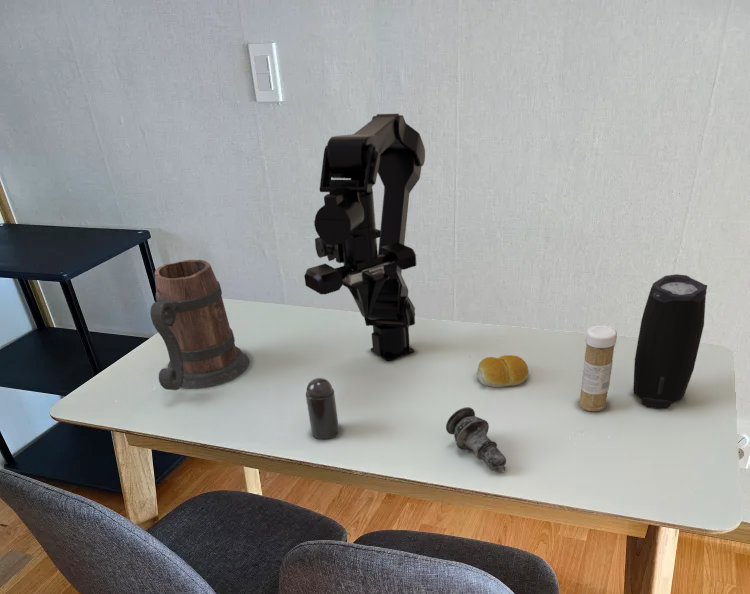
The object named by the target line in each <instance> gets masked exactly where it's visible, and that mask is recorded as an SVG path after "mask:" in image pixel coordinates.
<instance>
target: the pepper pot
mask: <svg viewBox="0 0 750 594" xmlns="http://www.w3.org/2000/svg"><path fill="white" fill-rule="evenodd" d="M305 399H306V405H307V411H308V418H309V424H310V431H311V435H312V437H313V438H315V439H317V440H322V441H323V440H325V441H326V440H331V439H333V438H335V437H336V436H338V435H339V433H340V426H339V417H338V411H337V402H336V393H335V389H334V388H333V385H332V384H331V382H330V380H327V379H326V378H324V377H315V378H313V379H311V380H310V381H309V382H308V383H307V387H306V391H305Z"/></svg>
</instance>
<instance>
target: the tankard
mask: <svg viewBox="0 0 750 594" xmlns="http://www.w3.org/2000/svg"><path fill="white" fill-rule="evenodd" d="M154 278H155V279H154V280H155V281H154V282H155V291H156V292H155V294H154V295H155V301H154V302H152V304H151V306H150V312H149V313H150V320H151V323H152V325H153V327H154V329H155V330H156V331H157V333H158V334H159V336H160V337H161V338H162V340H163V342H164V344H165V347H166V351H167V353H168V358H169V362H168V363H167V368H161V370H159V373H158V382H159V384H160V386H161V387H162V388H163V389H164V390H167V391H168V390H169V391H179V390H180V389H195V390H197V389H206V388H211V387H215V386H219V385H220V386H221V385H224V384H225V383H228V382H231V381H233V380H234V379H237V378H238V377H240V376H241V375H243V374H244V373H245V372H246V371H247V370H248V368H249V366H250V363H251V362H250V358H249V356H248V355H247V354H246V353H244V352H243V351H242V350H241V348H239V347H238V346H236V344H235V343H236V339H235V335H234V332H233V329H232V328H231V326H230V322H229V319H228V314H227V311H226V306H225V304H224V300H223V296H222V295H223V290H222V288H221V283H220V282H219V281H218V280H217V278H216V275H215V272H214V270H213V268H212V266H211V264H210V263H209V262H208V261H206V260H205V259H204V260H202V259H184V260H180V261H177V262H171V263H166V264H162V265H160V266H158V267H157V268H156V269H155V271H154Z"/></svg>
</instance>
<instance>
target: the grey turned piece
mask: <svg viewBox="0 0 750 594" xmlns="http://www.w3.org/2000/svg"><path fill="white" fill-rule="evenodd" d="M489 429H490V425H489V423H488V420H485V419H483V418H481V417H478V416H476V413H475V410H474V409H473V408H472V407H469V406H468V407H461V408H460V409H457V410H456V411H455V412H453V414H452V415H451V416H449V418H448V419H447V422H446V425H445V430H446V432H447V434H449V435H453V436H454V437H453V438H454V441H455V443H456V447H457V449H460V450H463V451H466V450H471V449H472V451H473V452H474V453H475V454H476V458H477V459H478V460H480V461H483V462H484V463H485V465H486V466H487V467H488V468H489V469H490V470H491V471H494V472H495V471H496V472H497V471H502V472H505V471H506V467H505V466H506V464H507V458H506V456H505V455H504V454H503V453H502V452H501V450H499V448H498V444H497V442H496V441H494V440H491V439H490V437H488V432H489Z"/></svg>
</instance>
